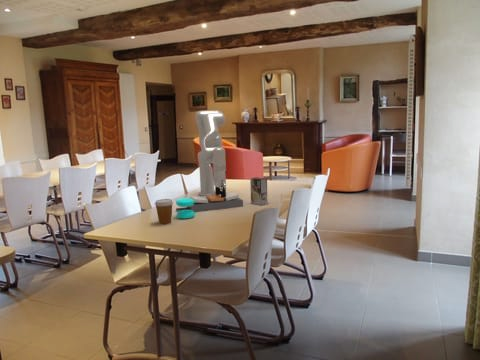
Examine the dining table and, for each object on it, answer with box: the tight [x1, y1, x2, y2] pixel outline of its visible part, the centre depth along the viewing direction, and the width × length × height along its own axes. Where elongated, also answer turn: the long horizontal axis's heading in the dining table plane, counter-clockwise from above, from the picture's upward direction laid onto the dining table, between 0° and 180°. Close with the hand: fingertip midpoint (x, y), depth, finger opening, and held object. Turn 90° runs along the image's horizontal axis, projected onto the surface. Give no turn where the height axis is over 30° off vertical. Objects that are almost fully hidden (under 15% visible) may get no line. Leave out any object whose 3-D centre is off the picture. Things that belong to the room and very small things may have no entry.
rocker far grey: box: [224, 191, 240, 201], centre depth 248 cm, size 10×8×2 cm
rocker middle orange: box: [205, 194, 224, 201], centre depth 244 cm, size 10×8×2 cm
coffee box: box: [250, 176, 268, 206], centre depth 250 cm, size 9×6×16 cm
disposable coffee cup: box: [154, 198, 174, 225], centre depth 212 cm, size 10×10×12 cm
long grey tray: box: [175, 197, 244, 213], centre depth 243 cm, size 13×40×5 cm, turn 112°
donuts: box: [175, 197, 196, 220], centre depth 223 cm, size 10×10×10 cm
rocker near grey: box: [190, 195, 208, 203], centre depth 241 cm, size 10×8×2 cm
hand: (220, 195), depth 245 cm, fingers open, 9 cm apart
